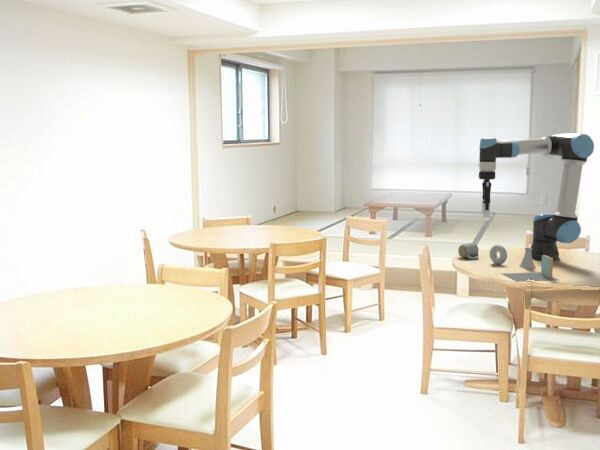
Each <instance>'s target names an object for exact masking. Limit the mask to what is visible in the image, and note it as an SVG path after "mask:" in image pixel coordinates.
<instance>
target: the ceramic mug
mask: <svg viewBox="0 0 600 450" xmlns="http://www.w3.org/2000/svg"><path fill="white" fill-rule="evenodd" d="M457 251H458V255H459V256H460V258H463V259H470V260H471V261H472V260H473V261H476V260H478V259H479V256H480V255H479V247H478V245H477V244H476V242H469V243H462V244H460V245H459V247H458V249H457Z"/></svg>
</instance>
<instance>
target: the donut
mask: <svg viewBox="0 0 600 450" xmlns="http://www.w3.org/2000/svg"><path fill="white" fill-rule="evenodd" d="M498 253H499V257H498V255H497V254H498ZM489 258H490V260H491V261H492V263H493V264H495V265H502V264H504V263H506V261H507V258H508V251H507V250H506V248H505V247H504V246H503V245H502V244H495V245H493V246H492V247H491V248H490V250H489Z"/></svg>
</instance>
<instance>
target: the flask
mask: <svg viewBox="0 0 600 450" xmlns="http://www.w3.org/2000/svg"><path fill="white" fill-rule="evenodd" d="M531 250H532V248H530V247H524V251H525V252H524V255H523V257H522V260H521V262H520V264H519V267H518V268H523V269H536V266H535V263H534V259H533V258H532V254H531Z"/></svg>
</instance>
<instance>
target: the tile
mask: <svg viewBox="0 0 600 450" xmlns="http://www.w3.org/2000/svg"><path fill="white" fill-rule="evenodd" d="M540 267H541V268H540V272H541V275H543V276H545V277H547V278H552V277H553V270H554V260H553V258H551V257H549V256H546V255H542V260H541V266H540Z"/></svg>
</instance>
